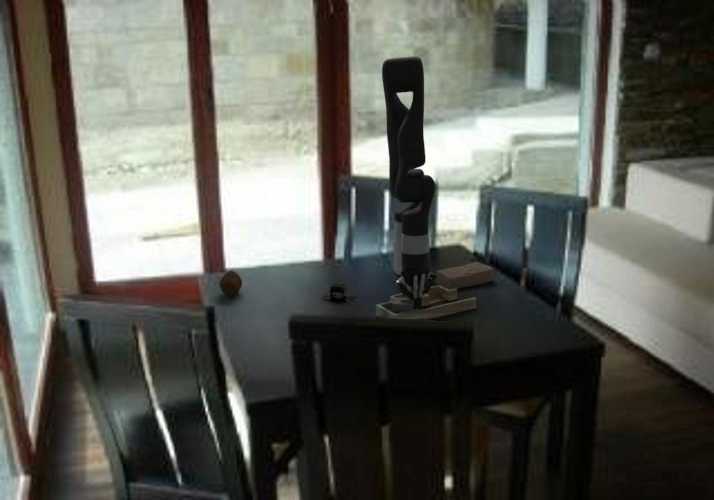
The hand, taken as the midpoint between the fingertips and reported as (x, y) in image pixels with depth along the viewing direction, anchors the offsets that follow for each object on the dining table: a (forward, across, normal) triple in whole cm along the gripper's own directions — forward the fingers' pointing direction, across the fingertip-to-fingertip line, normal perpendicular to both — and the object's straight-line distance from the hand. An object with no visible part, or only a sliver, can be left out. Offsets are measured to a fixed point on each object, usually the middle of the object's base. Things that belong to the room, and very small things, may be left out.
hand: (415, 309), depth 225 cm
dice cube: (+2, +4, 0) cm, 5 cm away
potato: (+2, +36, -44) cm, 57 cm away
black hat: (+2, +11, -24) cm, 26 cm away
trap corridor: (+2, -4, -3) cm, 5 cm away
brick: (+2, -28, -15) cm, 32 cm away
